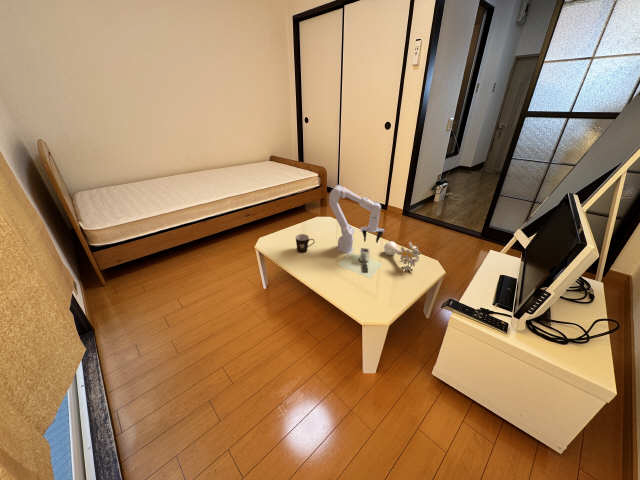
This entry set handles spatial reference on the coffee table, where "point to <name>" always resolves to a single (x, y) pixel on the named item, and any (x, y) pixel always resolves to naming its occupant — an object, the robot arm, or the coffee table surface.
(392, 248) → the flower vase
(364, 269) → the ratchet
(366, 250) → the socket
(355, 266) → the mat
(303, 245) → the coffee mug
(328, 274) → the coffee table surface
